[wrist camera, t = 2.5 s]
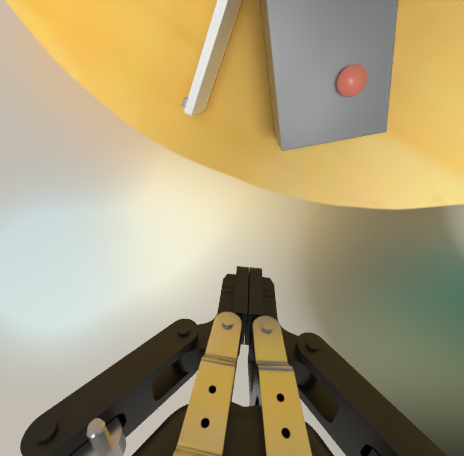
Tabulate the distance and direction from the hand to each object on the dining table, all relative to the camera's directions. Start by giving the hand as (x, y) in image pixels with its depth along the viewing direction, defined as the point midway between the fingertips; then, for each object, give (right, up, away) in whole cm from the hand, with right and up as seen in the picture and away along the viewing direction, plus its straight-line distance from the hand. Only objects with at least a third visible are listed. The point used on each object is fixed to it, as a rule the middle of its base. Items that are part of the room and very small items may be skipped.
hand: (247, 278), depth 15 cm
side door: (-2, +24, +13) cm, 28 cm away
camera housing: (+8, +25, +13) cm, 29 cm away
